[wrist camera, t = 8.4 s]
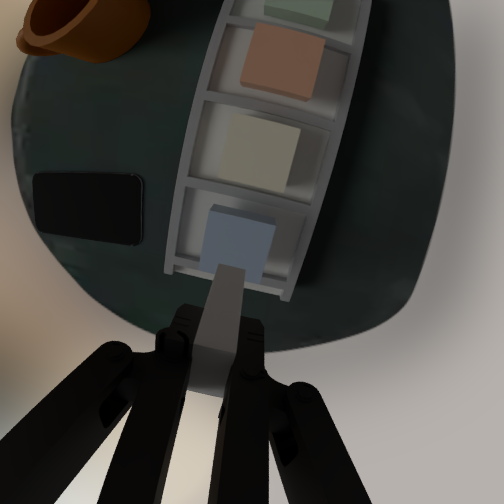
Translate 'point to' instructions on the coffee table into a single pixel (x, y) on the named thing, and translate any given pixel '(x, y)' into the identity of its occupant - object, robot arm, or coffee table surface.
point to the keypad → (273, 109)
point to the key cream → (258, 152)
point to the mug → (83, 28)
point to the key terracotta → (282, 62)
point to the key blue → (237, 241)
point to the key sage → (300, 11)
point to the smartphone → (89, 205)
